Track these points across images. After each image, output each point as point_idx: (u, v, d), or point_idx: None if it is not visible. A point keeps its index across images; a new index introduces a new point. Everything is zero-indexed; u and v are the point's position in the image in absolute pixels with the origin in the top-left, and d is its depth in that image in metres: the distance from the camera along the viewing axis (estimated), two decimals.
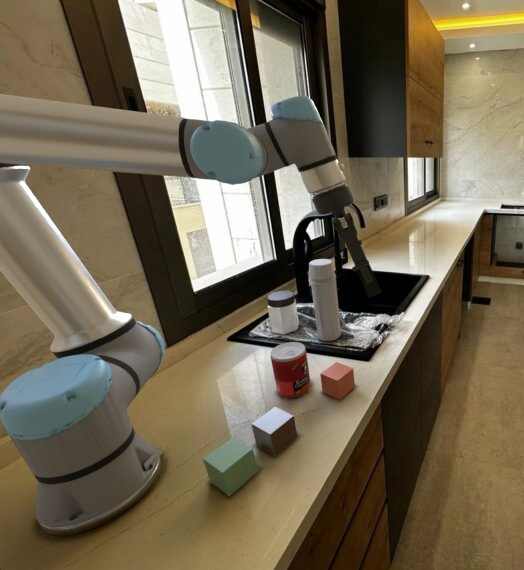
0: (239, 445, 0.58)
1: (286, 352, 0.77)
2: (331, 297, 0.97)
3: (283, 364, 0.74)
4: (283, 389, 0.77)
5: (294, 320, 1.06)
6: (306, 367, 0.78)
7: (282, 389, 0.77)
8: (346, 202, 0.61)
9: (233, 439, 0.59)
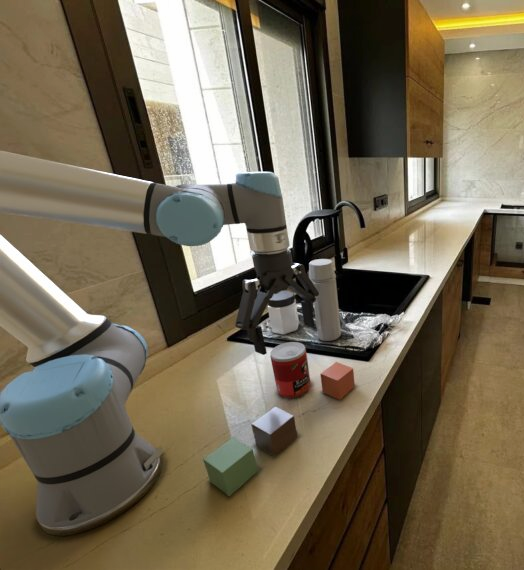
0: (239, 445, 0.58)
1: (286, 352, 0.77)
2: (331, 297, 0.97)
3: (283, 364, 0.74)
4: (283, 389, 0.77)
5: (294, 320, 1.06)
6: (306, 367, 0.78)
7: (282, 389, 0.77)
8: (267, 269, 0.66)
9: (233, 439, 0.59)
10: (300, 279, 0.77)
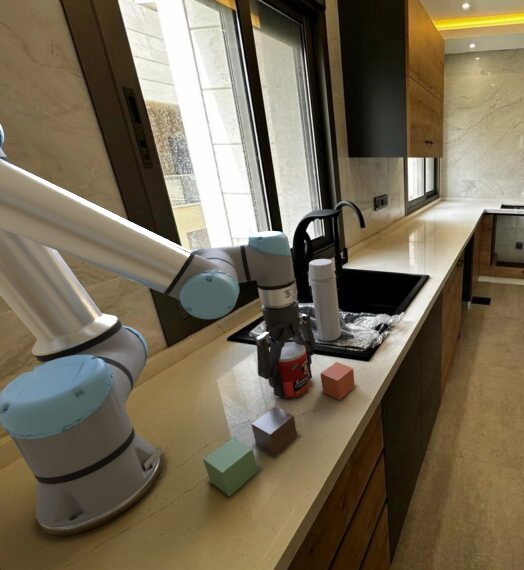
0: (239, 445, 0.58)
1: (286, 352, 0.77)
2: (331, 297, 0.97)
3: (283, 364, 0.74)
4: None
5: None
6: (306, 367, 0.78)
7: None
8: (276, 321, 0.70)
9: (233, 439, 0.59)
10: (303, 329, 0.81)
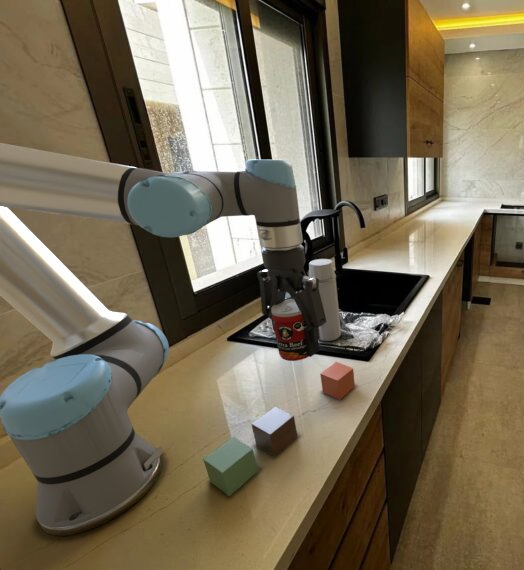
0: (239, 445, 0.58)
1: (289, 306, 0.67)
2: (331, 297, 0.97)
3: None
4: None
5: None
6: (287, 334, 0.65)
7: None
8: None
9: (233, 439, 0.59)
10: None
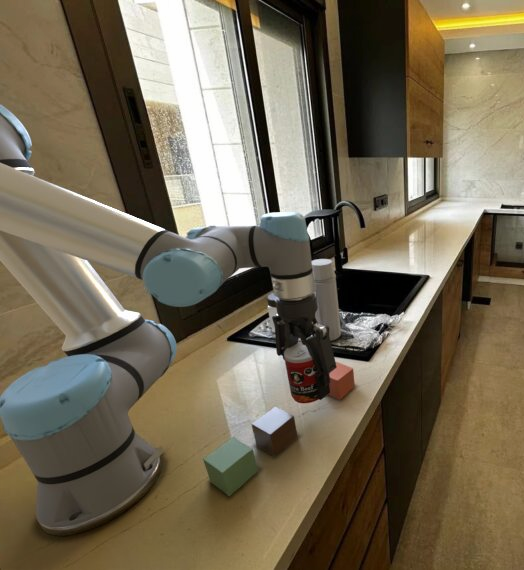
0: (239, 445, 0.58)
1: (301, 350, 0.68)
2: (331, 297, 0.97)
3: None
4: None
5: None
6: (298, 379, 0.66)
7: None
8: None
9: (233, 439, 0.59)
10: None
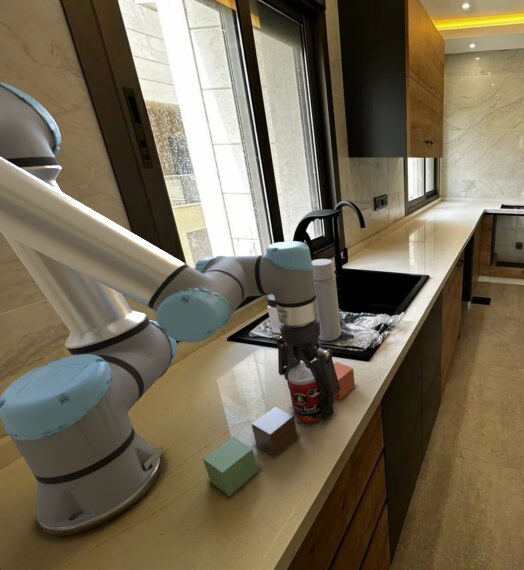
0: (239, 445, 0.58)
1: (305, 371, 0.70)
2: (331, 297, 0.97)
3: None
4: None
5: None
6: (301, 400, 0.68)
7: None
8: None
9: (233, 439, 0.59)
10: None
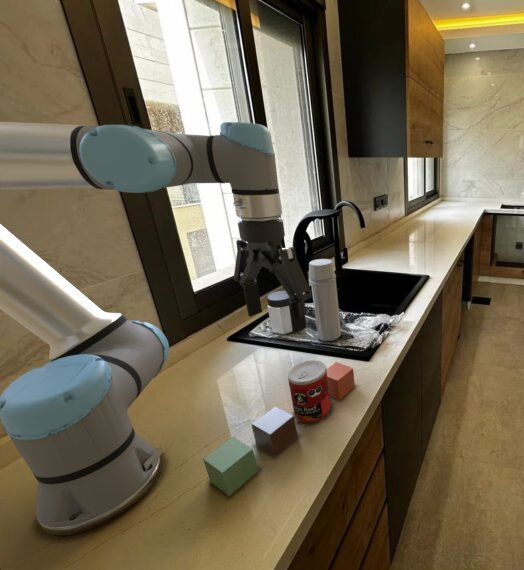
0: (239, 445, 0.58)
1: (305, 371, 0.70)
2: (331, 297, 0.97)
3: None
4: None
5: None
6: (301, 400, 0.68)
7: None
8: None
9: (233, 439, 0.59)
10: None
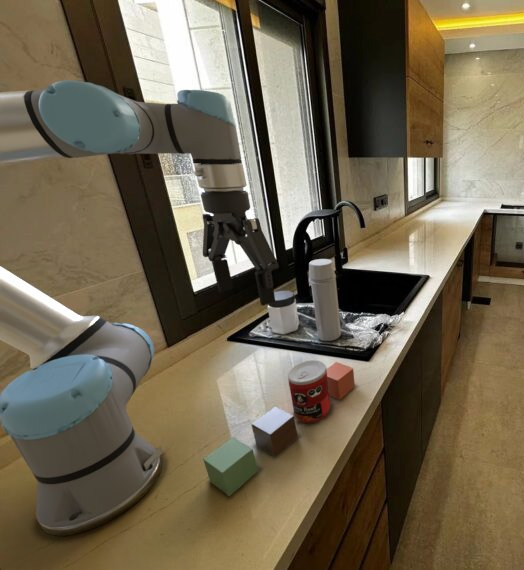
0: (239, 445, 0.58)
1: (305, 371, 0.70)
2: (331, 297, 0.97)
3: None
4: None
5: (294, 320, 1.06)
6: (301, 400, 0.68)
7: None
8: None
9: (233, 439, 0.59)
10: None
